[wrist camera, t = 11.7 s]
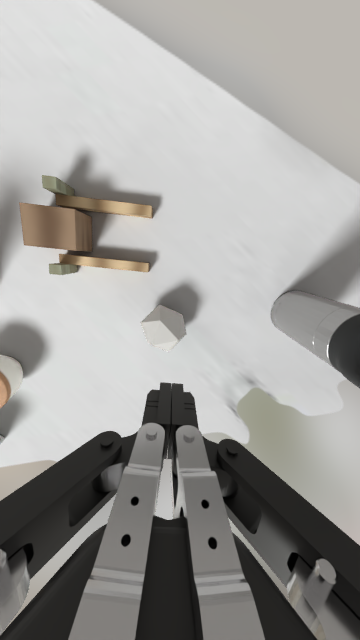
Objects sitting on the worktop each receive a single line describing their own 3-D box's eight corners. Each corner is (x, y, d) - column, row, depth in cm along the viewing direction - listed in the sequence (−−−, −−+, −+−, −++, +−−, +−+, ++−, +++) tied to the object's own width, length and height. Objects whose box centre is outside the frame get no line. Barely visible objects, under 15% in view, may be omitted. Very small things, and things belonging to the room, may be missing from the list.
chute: (153, 199, 38) (150, 189, 32) (148, 279, 42) (144, 283, 36) (62, 187, 37) (41, 175, 31) (66, 271, 41) (49, 273, 35)
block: (91, 217, 38) (74, 209, 31) (92, 251, 40) (76, 250, 33) (46, 211, 38) (19, 202, 31) (49, 246, 39) (24, 245, 33)
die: (153, 295, 44) (125, 324, 37) (191, 300, 40) (167, 333, 33) (162, 324, 49) (138, 355, 42) (196, 331, 45) (176, 365, 39)
